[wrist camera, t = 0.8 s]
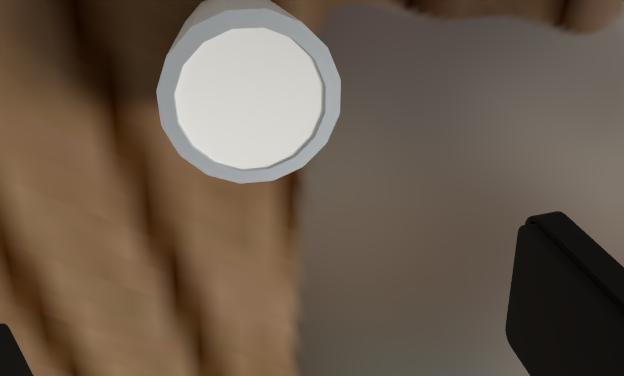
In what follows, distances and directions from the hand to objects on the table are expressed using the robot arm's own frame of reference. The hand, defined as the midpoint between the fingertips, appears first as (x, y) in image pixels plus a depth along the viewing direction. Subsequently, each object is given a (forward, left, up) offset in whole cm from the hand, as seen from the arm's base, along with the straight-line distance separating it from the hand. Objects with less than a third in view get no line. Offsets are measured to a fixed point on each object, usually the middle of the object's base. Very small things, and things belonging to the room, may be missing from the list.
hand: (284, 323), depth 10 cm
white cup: (0, 0, -19) cm, 19 cm away
